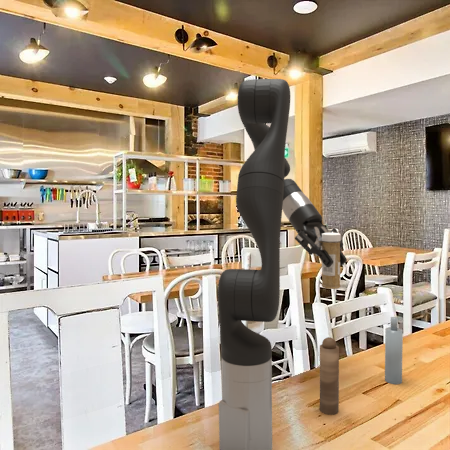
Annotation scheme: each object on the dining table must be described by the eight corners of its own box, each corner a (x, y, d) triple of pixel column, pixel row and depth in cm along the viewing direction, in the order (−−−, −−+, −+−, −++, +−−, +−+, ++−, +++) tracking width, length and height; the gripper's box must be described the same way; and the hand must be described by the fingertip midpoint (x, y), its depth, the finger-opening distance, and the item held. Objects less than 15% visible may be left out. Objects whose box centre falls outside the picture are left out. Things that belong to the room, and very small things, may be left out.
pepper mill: (333, 416, 90) (334, 342, 89) (316, 410, 92) (316, 338, 91) (341, 409, 93) (342, 337, 92) (324, 403, 95) (324, 333, 94)
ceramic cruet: (399, 385, 104) (399, 321, 103) (382, 381, 106) (383, 318, 105) (404, 380, 107) (405, 317, 106) (387, 376, 109) (388, 314, 108)
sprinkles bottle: (344, 287, 105) (344, 233, 104) (331, 290, 102) (331, 234, 101) (330, 284, 108) (330, 232, 108) (317, 286, 106) (317, 233, 105)
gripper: (288, 203, 106) (326, 257, 97) (327, 202, 114) (365, 251, 105) (274, 223, 110) (308, 276, 102) (312, 221, 119) (347, 270, 110)
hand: (337, 263), depth 103 cm, fingers closed on sprinkles bottle, 4 cm apart
